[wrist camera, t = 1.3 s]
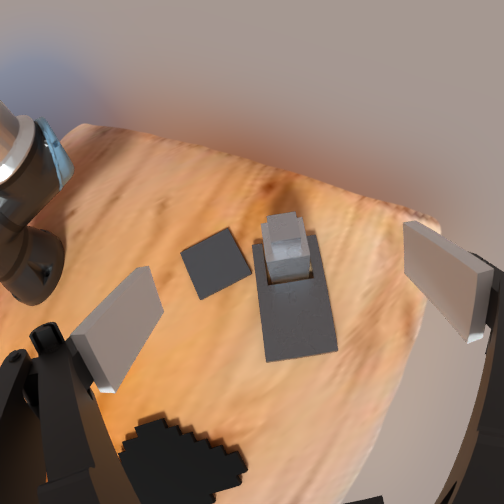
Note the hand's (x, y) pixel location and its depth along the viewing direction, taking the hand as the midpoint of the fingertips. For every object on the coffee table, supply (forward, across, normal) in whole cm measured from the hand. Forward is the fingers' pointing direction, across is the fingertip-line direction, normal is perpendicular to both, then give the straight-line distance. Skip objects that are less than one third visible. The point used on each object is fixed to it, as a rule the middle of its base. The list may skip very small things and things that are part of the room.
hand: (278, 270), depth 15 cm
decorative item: (+6, -19, -32) cm, 38 cm away
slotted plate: (+23, 0, -14) cm, 27 cm away
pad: (+27, -10, -8) cm, 30 cm away
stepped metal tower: (+26, 0, -10) cm, 28 cm away
